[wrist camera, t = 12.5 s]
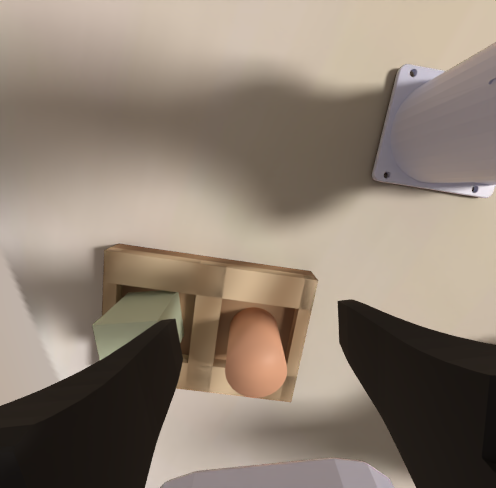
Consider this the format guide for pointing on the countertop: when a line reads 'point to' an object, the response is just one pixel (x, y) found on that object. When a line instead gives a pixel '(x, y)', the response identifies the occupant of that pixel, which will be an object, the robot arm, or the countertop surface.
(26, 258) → the countertop surface
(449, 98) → the robot arm
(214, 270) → the pocket board
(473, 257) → the countertop surface
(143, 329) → the sage cube
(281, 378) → the terracotta dowel
